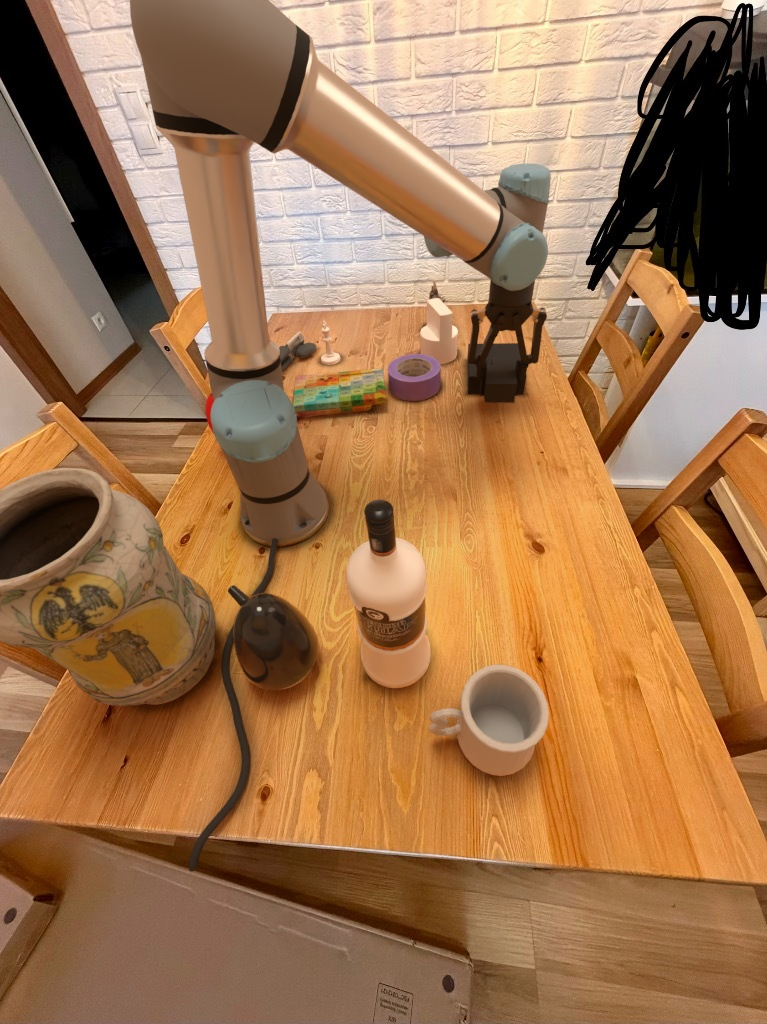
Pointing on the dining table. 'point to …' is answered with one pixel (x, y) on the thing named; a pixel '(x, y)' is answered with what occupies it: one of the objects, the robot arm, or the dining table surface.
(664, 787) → the dining table surface
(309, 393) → the puzzle game
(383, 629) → the vodka
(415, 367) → the tape roll
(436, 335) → the cylinder with rectangular tab
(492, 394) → the pad
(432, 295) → the figurine
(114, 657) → the vase
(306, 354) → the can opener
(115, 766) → the dining table surface
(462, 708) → the mug
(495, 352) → the notch pad
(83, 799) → the dining table surface
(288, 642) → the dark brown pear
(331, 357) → the chess piece
